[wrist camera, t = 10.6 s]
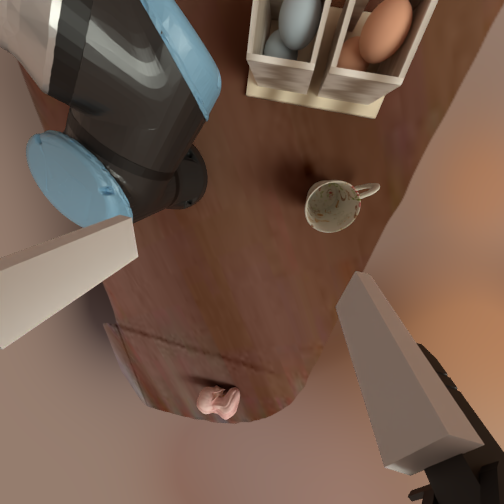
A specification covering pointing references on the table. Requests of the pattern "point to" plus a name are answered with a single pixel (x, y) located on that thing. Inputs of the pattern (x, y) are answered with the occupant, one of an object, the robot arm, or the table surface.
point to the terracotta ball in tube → (352, 56)
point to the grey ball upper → (299, 22)
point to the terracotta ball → (385, 30)
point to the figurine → (218, 401)
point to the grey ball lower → (279, 48)
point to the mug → (334, 204)
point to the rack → (328, 60)
